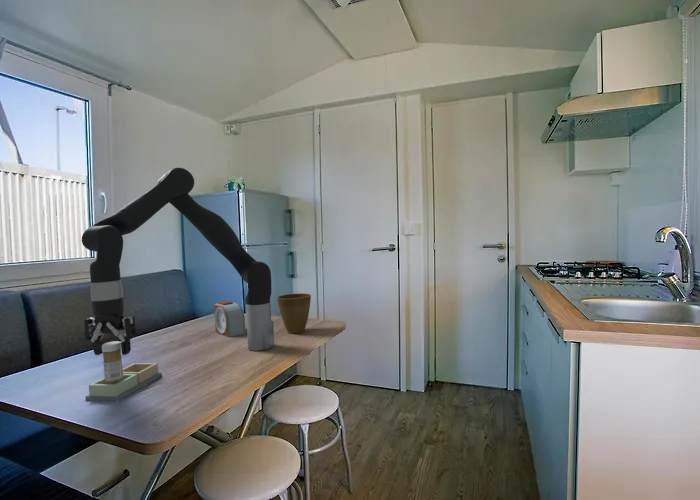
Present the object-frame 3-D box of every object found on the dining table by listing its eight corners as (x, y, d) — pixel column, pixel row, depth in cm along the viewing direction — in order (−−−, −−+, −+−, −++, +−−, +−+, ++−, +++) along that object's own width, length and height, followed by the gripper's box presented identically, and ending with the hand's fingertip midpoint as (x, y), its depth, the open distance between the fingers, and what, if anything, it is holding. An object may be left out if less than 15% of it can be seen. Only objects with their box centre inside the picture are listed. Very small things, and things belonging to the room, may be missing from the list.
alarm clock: (213, 331, 171) (211, 302, 171) (231, 327, 177) (229, 299, 176) (227, 337, 160) (225, 306, 160) (245, 333, 166) (244, 303, 165)
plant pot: (318, 328, 168) (316, 293, 168) (301, 337, 155) (299, 299, 154) (290, 326, 175) (289, 292, 174) (271, 334, 161) (269, 298, 160)
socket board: (161, 375, 118) (160, 363, 118) (118, 401, 100) (117, 386, 100) (133, 374, 119) (132, 362, 119) (85, 400, 102) (84, 385, 101)
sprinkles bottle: (124, 385, 108) (121, 339, 108) (123, 390, 104) (119, 343, 104) (106, 388, 106) (102, 342, 106) (103, 394, 102) (100, 346, 102)
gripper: (139, 294, 107) (144, 349, 107) (96, 295, 109) (100, 350, 110) (119, 299, 99) (125, 358, 100) (73, 300, 101) (78, 358, 102)
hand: (112, 354), depth 105 cm, fingers open, 8 cm apart
